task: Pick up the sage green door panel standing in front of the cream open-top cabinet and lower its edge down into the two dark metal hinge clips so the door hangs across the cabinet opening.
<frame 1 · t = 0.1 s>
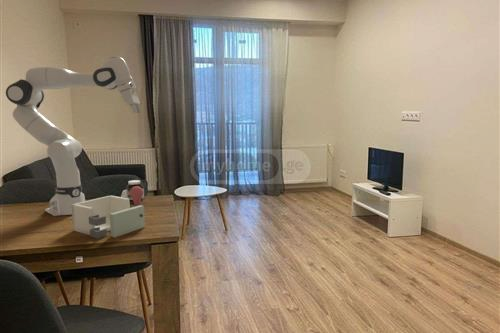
hand: (137, 113, 182), 52 cm above the table, tool tilted 20°, fingers open, 8 cm apart
door: (128, 231, 152), on the table
spread jar: (132, 200, 208), on the table
light bulb: (137, 207, 192), on the table
cabinet: (103, 226, 159), on the table
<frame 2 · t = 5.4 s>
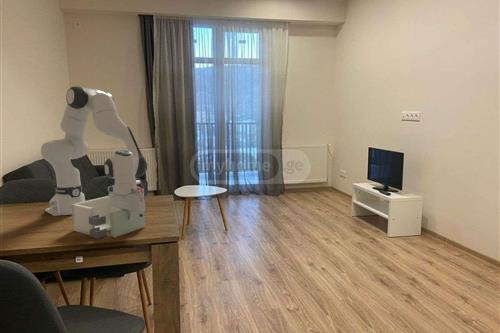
hand: (127, 219, 151), 6 cm above the table, tool pointing down, fingers closed on door, 2 cm apart
door: (128, 231, 152), on the table, touching gripper
everything else where it was.
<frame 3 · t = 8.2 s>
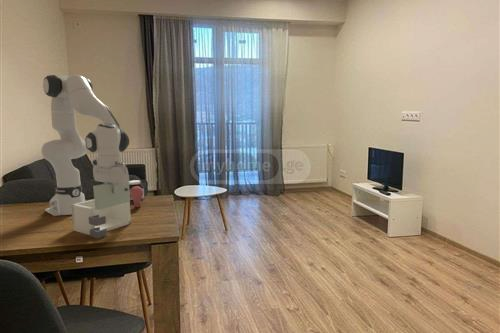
hand: (112, 192, 151), 17 cm above the table, tool pointing down, fingers closed on door, 2 cm apart
door: (113, 205, 152), point 12 cm above the table, touching gripper
everything else where it was.
when the fingers open (7 cm above the table, at t = 11.3 s): door drops 1 cm, on the table.
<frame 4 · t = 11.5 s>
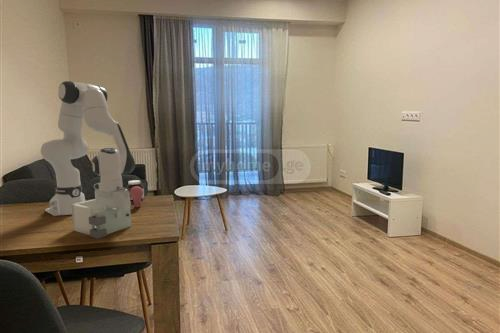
hand: (113, 216, 152), 7 cm above the table, tool pointing down, fingers open, 5 cm apart
door: (114, 230, 153), on the table
everything else where it was.
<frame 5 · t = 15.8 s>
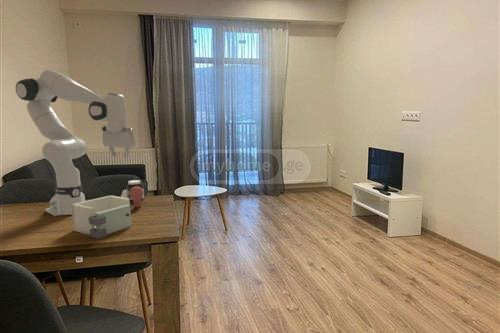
hand: (119, 156, 166), 31 cm above the table, tool pointing down, fingers open, 8 cm apart
nothing on the table moved.
at the end: door 0.1 cm from the target spot on the cabinet, point 0.0 cm above the cabinet's base; door tilted 0°; the gripper is holding nothing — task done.
